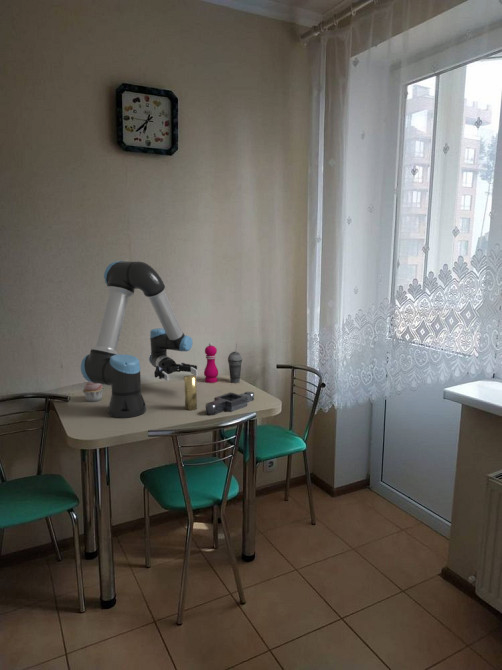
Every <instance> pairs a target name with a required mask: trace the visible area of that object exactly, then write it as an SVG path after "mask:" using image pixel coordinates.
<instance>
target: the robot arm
mask: <svg viewBox="0 0 502 670" xmlns="http://www.w3.org/2000/svg"><path fill="white" fill-rule="evenodd" d="M103 278H104V283H105V284H106V290H107V291H108V295H107V299H106V302H105V303H106V304H105V308H104V312H103V315H102V320H101V324H100V328H99V331H98V335H97V339H96V343H95V346H94V347H92V348H90V352H89V354H86V355H85V357H83V358H82V360H81V362H80V372H81V374H82V377H83V378H84V379H85V380H86V381H87V382H88V381H90V382H93V383H99V384H102V385H105V386H111V397H110V401H109V406H108V408H107V409H108V415H109V416H110V417H113V418H118V417H119V419H121V418H122V419H126V418H134V417H138V416H141V415H143V414H145V413H146V411H147V404H146V402H145V399H144V397H143V395H142V385H141V382H142V381H141V365H140V360H139V358H137V357H136V356H134V355H132V354H126V353H125V354H123V353H122V354H119V353H118V351H117V348H118V345H119V341H120V336H121V332H122V331H121V330H122V329H123V328H122V327H123V323H124V319H125V315H126V312H127V307H128V303H129V299H130V297H132V296H134V293H135V290H138V289H139V290H141V292H142V293H143V295H144V297H147V298H148V299H149V301H150V304H151V306H152V308H153V310H154V312H155V314H156V316H157V318H158V320H159V322H160V324H161V327H160V328H159V327H158V328H153V329H150V330H149V331H150V332H149V333H150V335H149V337H150V338H149V339H150V354H151V355H150V354H149V356H150V357H149V356H148V361H149V363H150V364H151V366H152V367H155V370H154V378H157V379H160V380H162V379H164V380H165V381H167V382H170V375H171V374H173V373H180V372H187V373H190V374H191V375H195V376H196V377H198V375H199V371H198V365H196V364H189V363H185V362H181V363H176V361H175V360H174V359H173V358H171V357H169V355H168V354H167V353H168V352H167V351H168V350H170V351H177V352H189V351H191V349H192V347H193V338H192V336H189V335H185V333H184V331H183V328H182V327H181V324H180V322H179V320H178V318H177V315H176V314H175V311H174V309H173V306H172V304H171V303H170V300H169V298H168V295H167V294H166V291H165V289H166V285H165V284H164V281H163V280H162V277H161V276H160V275H159V273H158V272H157V271H156V270H155V269H154V268H153V267H152V266H151V265H149V264H148V263H146V262H144V261H130V260H129V261H125V260H117V261H113V262H110V263H109V264H107V266H106V268H105V270H104V273H103Z"/></svg>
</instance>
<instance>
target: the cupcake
mask: <svg viewBox="0 0 502 670" xmlns="http://www.w3.org/2000/svg"><path fill="white" fill-rule="evenodd" d="M104 390H105V388H104V387H103V384H99V383H93V382H90V381H87V383H86V384H85V385H84V389H82V392H83V394H84V396H85V400H86V401H87V402H89V403H94V402H99V401H101V400H102V399H103V392H105V391H104Z"/></svg>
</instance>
